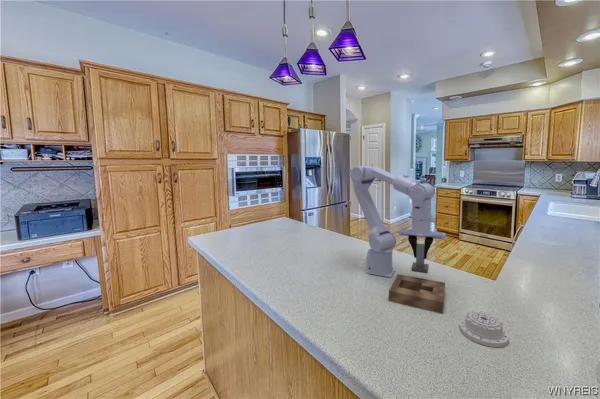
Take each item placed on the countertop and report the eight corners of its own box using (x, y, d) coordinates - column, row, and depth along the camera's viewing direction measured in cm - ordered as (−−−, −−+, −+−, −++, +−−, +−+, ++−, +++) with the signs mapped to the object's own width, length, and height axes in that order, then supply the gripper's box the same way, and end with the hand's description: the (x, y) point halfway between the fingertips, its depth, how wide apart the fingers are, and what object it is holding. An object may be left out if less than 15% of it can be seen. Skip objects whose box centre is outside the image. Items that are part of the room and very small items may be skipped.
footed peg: (411, 271, 89) (411, 245, 88) (413, 266, 93) (413, 241, 92) (427, 273, 87) (428, 247, 85) (428, 268, 91) (429, 243, 90)
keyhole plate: (388, 300, 82) (388, 290, 81) (397, 283, 93) (397, 274, 93) (442, 313, 74) (443, 302, 73) (444, 292, 86) (445, 282, 85)
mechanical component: (509, 332, 65) (463, 318, 72) (510, 316, 65) (463, 303, 71) (507, 354, 58) (456, 337, 64) (508, 336, 57) (457, 320, 64)
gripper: (396, 219, 88) (396, 258, 90) (445, 223, 81) (444, 264, 82) (400, 216, 94) (399, 252, 96) (445, 218, 87) (444, 257, 88)
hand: (420, 257), depth 89 cm, fingers closed on footed peg, 2 cm apart
